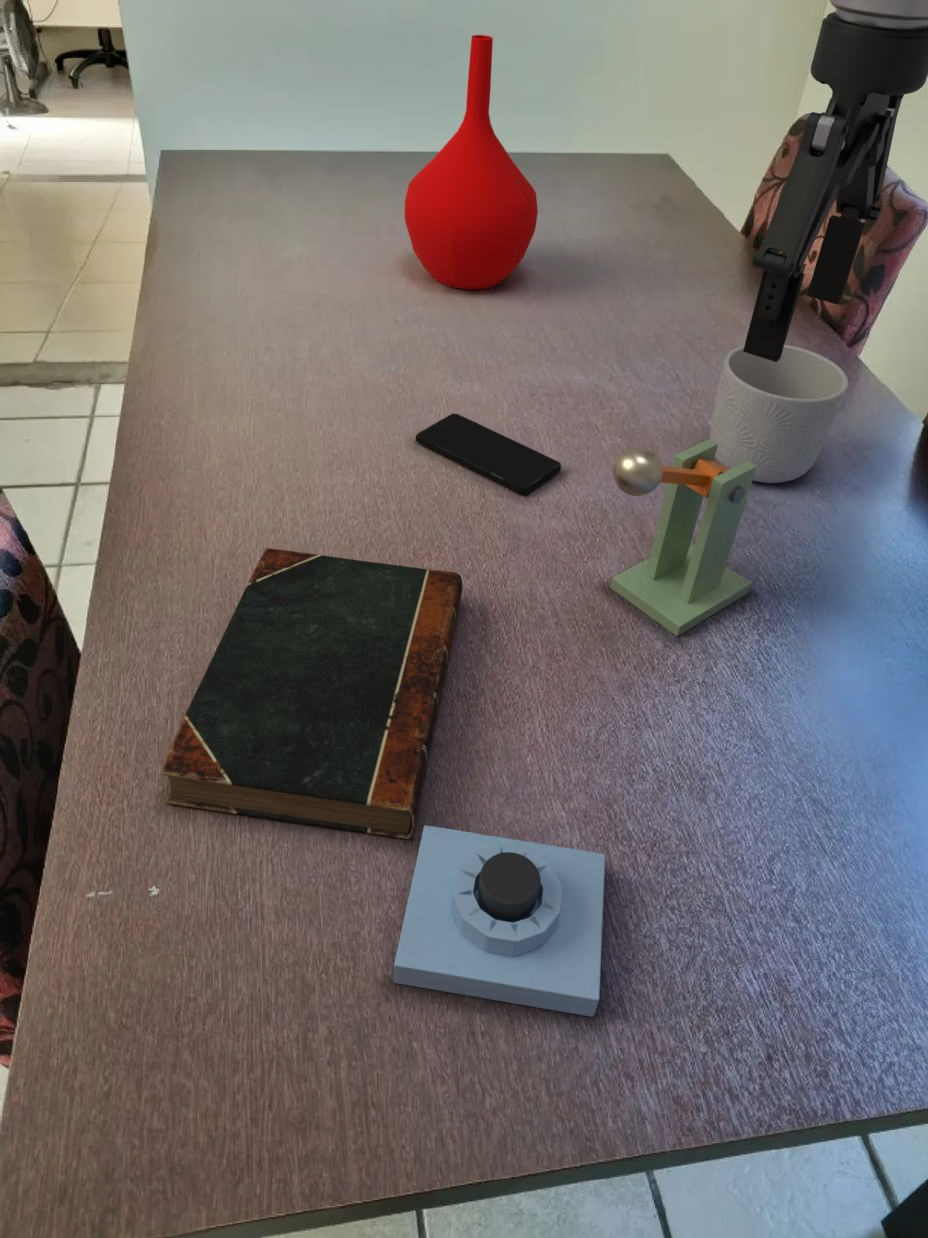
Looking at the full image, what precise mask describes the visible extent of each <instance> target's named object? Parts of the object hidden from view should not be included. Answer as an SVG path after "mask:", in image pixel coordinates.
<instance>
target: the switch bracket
mask: <svg viewBox="0 0 928 1238" xmlns="http://www.w3.org/2000/svg"><path fill="white" fill-rule="evenodd" d="M717 446H718V444H717V443H715V442H713V441H711V440H710V439H706V440H704V441H702V442H700V443H698V444H696V445H693V446H691V447H689V448H687V449H684V450H683V451H680V452H679V453H677V454H675V455H674V457H673V461H672V465H671V467H678V468H687V469H694V468H695V466H696V464H697V462H698V460H699V459H702V460H710V461H715V454H716V450H717ZM756 468H757V466H756V465H754V464H752V463H750V462H749V461H746V462H744V463H742V464H740V465H738V466H736V467H734V468H732V469H730V470H728V471H726V472H724V473H722V474H720V475H718V476H716V477H714V478H713V481H712V485H711V488H710V492H709V495H708V498H706V502H705V506H704V509H703V514H702V517H701V521H700V524H699V527H698V531H697V535H696V538H695V542H694V543H692V540H693V536H694V532H695V529H696V526H697V523H698V522H697V521H698V519H699V514H700V512H701V511H700V510H701V507H702V504H703V501H704V498H705V497H704V496H702V495H701V494H699V493H697V492H696V491H694V490H692V489H691V488H689V487H688V486H686V485H683V484H673V483H667V486H666V488H665V489H666V490H665V494H664V498H663V502H662V507H661V509H660V514H659V519H658V522H657V526H656V531H655V535H654V539H653V542H652V543H653V544H652V547H651V551H650V555H649V557H648V558H646V559H644V560H643V561H641V562H639V563H636V564H635V565H633V566H632V567H629V568H628V569H626V570H623V571H622V572H620V573H618V574H617V575H614V576H613V577H611V581H610V585H609V589H611V590H612V591H613V592H615V593H616V594H618V595H619V596H621V597H622V598H623V599H625V600H626V601H627V602H629V603H630V604H632V605H633V606H634V607H635V608H637V609H638V610H640V611H641V612H642V613H644V614H645V615H646V616H648V617H649V618H651V619H652V620H653V621H655V622H656V623H658V624H659V625H660V626H661V627H663V628H664V629H666V631H669V632H670V633H671V634H672V635H674V636H675V637H679V636H680V635H682V634H684V633H685V632H687V631H688V630H690V629H692V628H694V627H695V626H697V625H699V624H700V623H702V622H703V621H705V620H707V619H709V618H710V617H711V616H713V615H715V614H716V613H718V612H719V611H721V610H723V609H724V608H726V607H727V606H730V605H732V603H735V602H736V601H738V600H739V599H741V598H743V597H744V596H745V595H748V594H749V593H750V591H751V590H750V589H751V587H752V585H753V582H752V581H751V580H749V579H747V578H746V577H744V576H742V575H741V574H739V573H738V572H736V571H735V570H733V569H731V568H730V567H729V566H727V562H728V560H729V557H730V554H731V550H732V546H733V543H734V541H735V537H736V534H737V530H738V528H739V525H740V521H741V518H742V515H743V512H744V509H745V506H746V502H747V499H748V497H749V492H750V490H751V486H752V483H753V481H752V480H753V477H754V474H755V471H756Z"/></svg>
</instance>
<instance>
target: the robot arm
mask: <svg viewBox="0 0 928 1238" xmlns="http://www.w3.org/2000/svg"><path fill="white" fill-rule="evenodd" d="M828 1H829V2H830V4H831V6H833V7H834V8H835V11H833V12H830V13H828V14H827V15H826V17H824V18H823V19H822V21H821V25H820V29H819V33H818V37H817V41H816V45H815V49H814V52H813V57H812V60H811V64H810V74H811V77H812V78H813V79H814V80H815V81H816V82H818V83H820V84H822V85H827V86H828V87H829V88H830V89H831V91H832V93H831V97H830V99H829V101H828V104H827V107H826V109H825V111H822V112H821V113H820V112H815V111H811V112H810V113H809V114H808V117H807V118H806V120H805V125H804V129H803V132H802V136H801V139H800V143H799V146H798V150H797V152H796V154H795V158H794V161H793V163H792V165H791V167H790V170H789V173H788V175H787V177H786V181H785V183H784V186H783V189H782V191H781V193H780V196H779V199H778V201H777V203H776V206H775V209H774V212H773V214H772V216H771V219H770V221H769V224H768V227H767V230H766V232H765V235H764V237H763V239H762V242H761V245H760V247H759V250H758V252H757V253H755V254H754V255H753V259H752V267H755V268H756V269H761V270H763V272H762V276H761V279H760V285H759V287H758V292H757V295H756V298H755V303H754V307H753V311H752V315H751V318H750V323H749V326H748V330H747V335H746V339H745V342H744V345H745V346H744V345H743V346H744V349H743V352H746V353H749V354H752V355H755V356H759V357H762V358H765V359H768V360H771V361H774V362H777V361H778V360H779V359H780V358H781V355H782V351H783V348H784V345H786V344H785V343H786V341H787V338H788V333H789V331H790V326H791V323H792V320H793V316H794V312H795V310H796V309H795V308H796V305H797V303H798V299H799V295H800V292H801V288H802V285H803V281H804V278H805V273H804V272H802V271H803V266H804V264H805V262H806V260H807V258H808V256H809V254H810V253H811V250H812V247H813V246H814V243H815V241H816V239H817V237H818V235H819V233H820V231H821V229H822V227H823V224H824V222H825V220H826V218H827V216H828V213H829V212H830V210H831V207H832V206H833V204H834V201H835V202H836V203H835V213H836V214H839V215H840V216H838V215H834V214H832V215H831V216H829V219H828V222H827V225H826V229H825V231H824V235H823V239H822V241H821V242H822V243H821V246H820V250H819V253H818V256H817V260H816V263H815V265H814V270H813V273H812V276H811V280H810V284H809V287H808V291H807V294H806V296H807V297H809V298H814V299H816V300H819V301H823V302H826V303H830V304H833V305H839V304H840V303H841V302H842V299H843V295H844V293H845V290H846V286H847V282H848V280H849V277H850V273H851V271H852V267H853V264H854V261H855V259H856V254H857V252H858V249H859V245H860V242H861V240H862V237H863V233H864V230H865V228H866V227H865V226H866V222H864V221H863V222H862V220H865V221H868V222H872V223H876V222H877V221H878V219H879V218H880V215H881V212H882V207H880V206H877V205H878V203H879V202H880V201H881V199H882V196H883V195H882V192H883V187H884V183H885V178H886V172H887V168H888V167H887V166H888V162H889V158H890V152H891V147H892V142H893V138H894V132H895V128H896V122H897V118H898V114H899V111H900V108H901V104H902V100H903V98H904V97H905V95H910V94H913V93H915V92H918V91H919V90H920V89H922V88H923V87H924V85H925V84H926V82H927V78H928V0H828ZM835 199H836V200H835ZM780 252H782V253H785V254H786V255H785V254H781V253H780Z"/></svg>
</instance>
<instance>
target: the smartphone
mask: <svg viewBox="0 0 928 1238" xmlns="http://www.w3.org/2000/svg"><path fill="white" fill-rule="evenodd" d="M415 441H416V442H417V443H418V444H420V445H422V446H423V447H426V448H427V449H430V450H431V451H434V452H435V453H437V454H439V455H441V456H444V457H445V458H447V459H449V460H451V461H453V462H455V463H457V464H459V465H461V466H463V467H466V468H467V469H469V470H471V471H473V472H475V473H477V474H479V475H481V476H483V477H485V478H487V479H489V480H491V481H493V482H495V483H497V484H500V486H503V487H505V488H507V489H509V490H511V491H513V492H515V493H517V494H519V495H522V496H523V495H524V496H525V495H527V494H529V493H530V492H532V491H533V490H535V489H536V488H538V487H539V486H540V485H542V484H543V483H545V482H546V481H547V480H549V479H550V478H551V477H553V476H554V475H556V474H557V473H558V472H560V471H561V469H562V463H560V462H559V460H556V459H553V458H552V457H549V456H547V455H546V454H543V453H541V452H540V451H537V450H535V449H532V448H530V447H528V446H526V445H524V444H522V443H520V442H518V441H516V440H514V439H511V438H510V437H507V436H506V435H503V434H501V433H499V432H496V431H494V430H492V429H490V428H489V427H486V426H484V425H483V424H480V423H478V422H476V421H474V420H471V419H469V418H467V417H465V416H463V415H461V414H459V413H451V414H449V415H447V416H445V417H444V418H442V419H440V420H438V421H437V422H435V423H433V424H431V425H430V426H428V427H426V428H424V429H423V430H421V431H420V432H418V433H417V434H415Z"/></svg>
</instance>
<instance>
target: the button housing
mask: <svg viewBox="0 0 928 1238" xmlns="http://www.w3.org/2000/svg"><path fill="white" fill-rule="evenodd" d="M505 852H512V853H517V854H520V855H523V856H525V857H526V858H528V859H529V860H531V861H532V862H533V863H534V865H535V866H536V868H537V869H538V871H539V874H540V888H539V893H538V898H537V902H536V905H535V907H534V908H533V910H532V911H531V912H530V913H529V914H527V915H526V916H524V917H522V918H520V919H516V920H504V919H500V918H497V917H495V916H493V915H491V914H490V913H489V912H488V911H487V910H486V909H485V908H484V907H483V905H482V904H481V902H480V899H479V895H478V889H479V881H480V873H481V869H482V867H483V865H484V864H485V862H486V861H487V860H488V859H489V858H491V857H492V856H494V855H496V854H499V853H505ZM605 872H606V854H605V853H603V852H597V851H590V850H584V849H577V848H571V847H564V846H558V845H552V844H545V843H539V842H535V841H534V842H533V841H527V840H520V839H514V838H508V837H502V836H494V835H490V834H483V833H477V832H470V831H464V830H458V829H451V828H445V827H440V826H432V825H426V824H425V825H423V829H422V833H421V838H420V844H419V847H418V853H417V857H416V862H415V866H414V870H413V876H412V880H411V884H410V889H409V894H408V899H407V903H406V908H405V912H404V916H403V921H402V926H401V931H400V935H399V940H398V944H397V945H398V946H397V948H396V954H395V959H394V963H393V983H394V984H399V985H404V986H410V987H416V988H421V989H422V988H423V989H426V990H433V991H439V992H445V993H450V994H451V993H452V994H456V995H463V996H468V997H475V998H480V999H486V1000H490V1001H491V1000H493V1001H497V1002H503V1003H509V1004H515V1005H520V1006H521V1005H522V1006H527V1007H532V1008H539V1009H543V1010H544V1009H545V1010H551V1011H555V1012H562V1013H567V1014H572V1015H580V1016H585V1017H590V1018H591V1017H592V1018H594V1017H595V1014H596V1011H597V1008H598V1005H599V1001H600V993H601V970H602V968H601V967H602V966H601V965H602V949H603V946H602V945H603V944H602V943H603V926H604V925H603V923H604V922H603V921H604V899H605V875H606V874H605Z"/></svg>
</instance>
